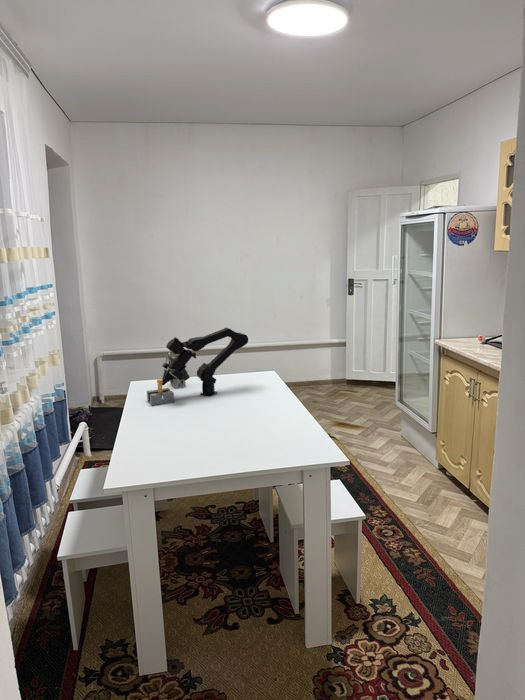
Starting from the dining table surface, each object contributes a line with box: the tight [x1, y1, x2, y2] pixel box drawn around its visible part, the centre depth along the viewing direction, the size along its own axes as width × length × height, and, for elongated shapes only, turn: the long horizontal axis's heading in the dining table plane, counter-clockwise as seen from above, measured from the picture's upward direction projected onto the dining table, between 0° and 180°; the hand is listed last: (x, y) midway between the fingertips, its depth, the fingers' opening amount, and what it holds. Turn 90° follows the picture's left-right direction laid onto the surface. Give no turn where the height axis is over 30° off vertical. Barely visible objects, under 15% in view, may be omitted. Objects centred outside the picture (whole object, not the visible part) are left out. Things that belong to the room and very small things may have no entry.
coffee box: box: [167, 354, 186, 389], centre depth 283 cm, size 9×6×16 cm
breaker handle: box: [156, 379, 163, 393], centre depth 256 cm, size 2×2×8 cm
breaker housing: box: [146, 387, 175, 407], centre depth 257 cm, size 11×10×5 cm
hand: (161, 385), depth 256 cm, fingers closed, pressing on breaker handle
